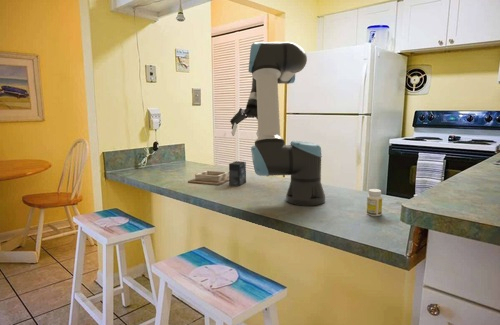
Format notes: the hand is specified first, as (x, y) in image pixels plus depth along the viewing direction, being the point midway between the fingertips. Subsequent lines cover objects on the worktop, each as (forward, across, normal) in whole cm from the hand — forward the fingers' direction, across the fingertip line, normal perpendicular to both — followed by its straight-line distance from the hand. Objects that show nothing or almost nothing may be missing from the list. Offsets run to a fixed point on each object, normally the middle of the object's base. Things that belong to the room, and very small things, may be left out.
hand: (245, 135), depth 168 cm
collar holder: (+22, +15, -10) cm, 29 cm away
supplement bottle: (+42, -63, +16) cm, 77 cm away
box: (+25, -1, -7) cm, 26 cm away
